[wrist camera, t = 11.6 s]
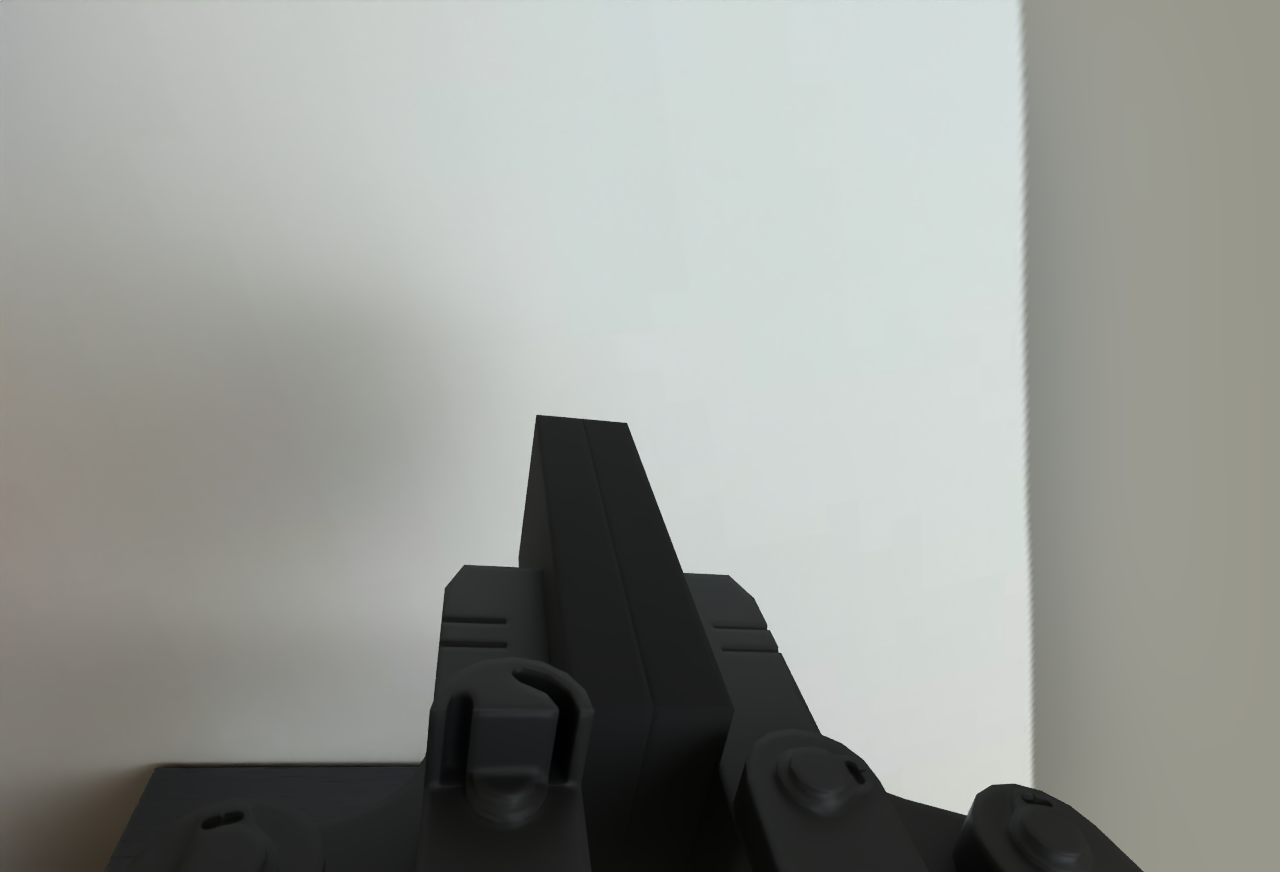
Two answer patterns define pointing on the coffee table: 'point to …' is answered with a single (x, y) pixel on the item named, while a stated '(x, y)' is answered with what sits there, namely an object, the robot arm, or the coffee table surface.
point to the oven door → (253, 795)
